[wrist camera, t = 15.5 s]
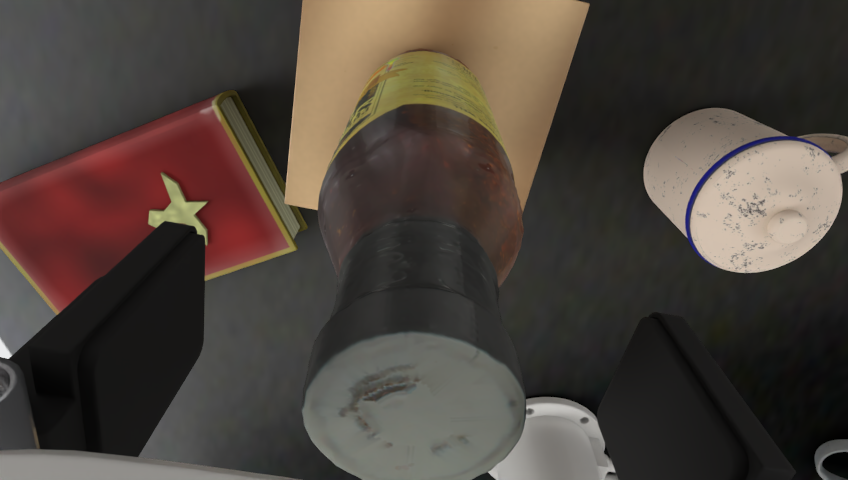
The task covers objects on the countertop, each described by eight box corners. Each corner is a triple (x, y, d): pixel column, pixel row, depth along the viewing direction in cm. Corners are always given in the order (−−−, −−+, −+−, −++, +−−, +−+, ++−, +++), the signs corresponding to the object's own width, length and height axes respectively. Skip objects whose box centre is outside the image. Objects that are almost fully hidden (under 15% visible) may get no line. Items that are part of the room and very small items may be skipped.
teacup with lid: (653, 233, 43) (725, 318, 33) (624, 134, 39) (695, 194, 29) (809, 175, 40) (939, 247, 30) (793, 64, 37) (936, 101, 26)
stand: (541, -8, 35) (590, 3, 24) (490, 173, 41) (511, 247, 30) (346, -53, 34) (308, -63, 23) (323, 140, 40) (284, 204, 29)
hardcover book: (0, 180, 41) (-43, 202, 38) (233, 86, 38) (212, 99, 34) (94, 300, 46) (65, 329, 43) (307, 226, 43) (295, 251, 39)
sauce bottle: (360, 42, 25) (193, 221, 7) (491, 48, 25) (638, 239, 7) (362, 172, 28) (247, 520, 10) (479, 177, 28) (563, 532, 10)
